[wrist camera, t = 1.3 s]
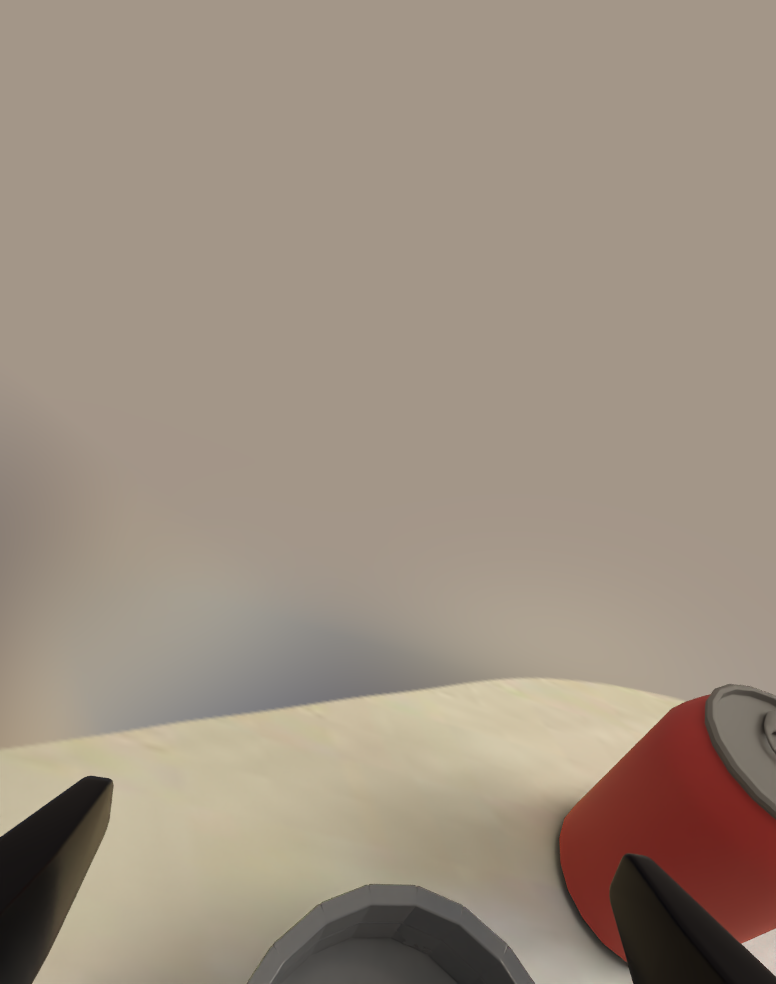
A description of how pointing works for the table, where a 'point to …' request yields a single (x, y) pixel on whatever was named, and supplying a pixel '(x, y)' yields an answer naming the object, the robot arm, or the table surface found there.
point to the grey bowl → (390, 943)
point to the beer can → (687, 814)
